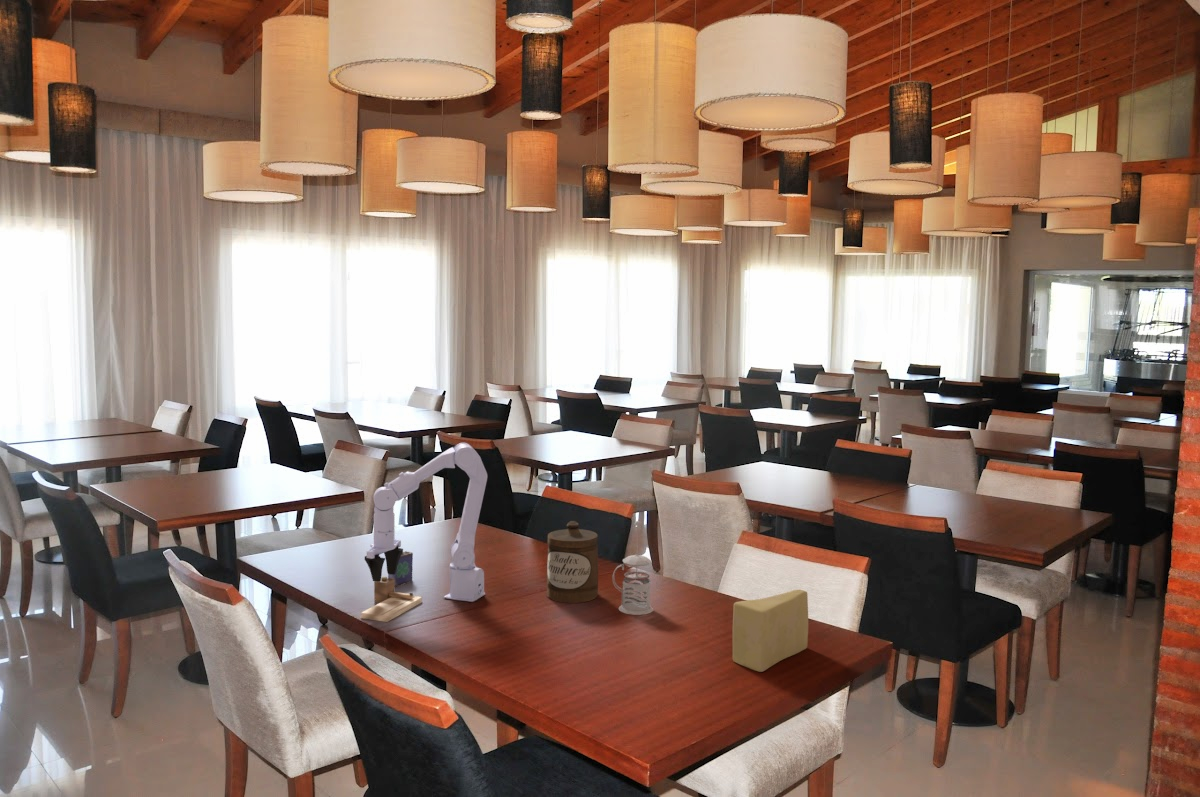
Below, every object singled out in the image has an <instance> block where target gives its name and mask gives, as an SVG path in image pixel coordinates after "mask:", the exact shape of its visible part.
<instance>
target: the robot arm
mask: <svg viewBox="0 0 1200 797" xmlns="http://www.w3.org/2000/svg"><path fill="white" fill-rule="evenodd" d="M455 465H456V466H457V467H458V468H460V469H461V470H462V471H464V472H465V473H466V474H467V476H468V478H469V482H468V486H467V491H466V496H465V500H464V505H463V509H462V515H461V518H460V523H459V528H458V532H457V533H456V537H455V540H454V541H453V543H452V544H451V546H450V547H449V548H450V549H449V553H450V556H451V558H452V561H451V562H450V563H449V593H448V594H446V595H444V596H443V598H444V599H448V600H455V601H464V602H469V603H470V602H471V603H473V602H475V601H478V600H479V599H480V598H481V597H483V596H485V595H486V592H485V571H484V570H483V569H484V568H483V569H482V568H480V567H478V566H476V563H475V560H476V554H475V550H474V549H475V543H476V532H477V527H478V523H479V520H480V519H479V518H480V513H481V509H482V504H483V500H484V495H485V490H486V486H487V482H488V472H487V470H486V468H485V465H484V462H483V461H482V458H481V456H480V455H479V453H478V452H477V450H475V448H473V446H472V445H471V444H469V443H467V442H460V443H458V444H456V445H454V446H452V447H450V448H448V449H446V450H445V451H443V452H441V453H439V454H438V455H437V456H436V457H434V458H433V459H431V460H430V461H428V462H427V463H426V464H424V465H422V466H421V467H419V468H418V469H417V470H416V471H414V472H413V471H406V472H403V471H401V472H400V473H398V477H396V478H394V479H393V480H391V481H390V482H385V483H384V484H383V485H384V486H381V487H377V489H376V490H375V491H374V493H373V496H372V499H373V503H374V506H373V543H372V544H370V548H369V549H368V550H367V551H366V555H364V561H365V562H366V564H367V566H368V568H369V571H370V575H371V579H372V581H373V582H374V581H377V582H380V581H381V578H382V575H383V574H382V571H383V566H384V563H385V562H386V572H387V575H388V574H393V575H394V574H395V573H396V569H397V565H398V561H399V559H400V556H401V554H402V553H403V552H404V548H401V546H402V540H401V539H395V534H396V532H395V530H396V529H395V513H394V506H395V504H396V502H398V501H401V500H403V499H404V498H405V497H407V496H408V495H410V494H412V493H414V492H415V491H417V490H418V489H419V488H420V483H421V482H422V481H424V480H425V479H427V478H429V477H431V476H433V475H435V474H436V473H438V472H439V471H441V470H443V469H455V468H456V466H455ZM381 554H384V557H381V556H380V555H381Z"/></svg>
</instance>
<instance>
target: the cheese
mask: <svg viewBox="0 0 1200 797" xmlns="http://www.w3.org/2000/svg"><path fill="white" fill-rule="evenodd" d="M808 603H809V602H808V592H807V591H806V590H802V589H794V590H790V591H787V592H783V593H779V594H776V595H773V596H772V595H771V596H768V597H767V596H766V597H763V598H758V599H757V598H756V599H748V600H741V601H735V602H734V603H733V613H732V614H733V615H732V661H733V662H734V663H736V664H738V665H740V666H743V667H745V668H747V669H750V670H752V671H755V672H759V673H762V672H766V670H768V669H769V668H771V667H773V666H775V665H776V664H777V663H779V662H780V661H781V662H782V661H783V660H785V659H787V658H789V657H791V656H794V655H796V654H799V653H800V652H802V651H804V650H806V649H807V648H808V639H809V638H808V637H809V604H808Z"/></svg>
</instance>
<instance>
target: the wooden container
mask: <svg viewBox="0 0 1200 797" xmlns="http://www.w3.org/2000/svg"><path fill="white" fill-rule="evenodd" d="M579 526H580V525H579V523H578V522H577V521H575V520H570V521H569V522H567V524H566V527H567V528H566V529H557V530H554V531H551V532H549V533H547V563H546V564H547V566H546V568H547V571H546V582H547V583H546V596H547V597H548V599H550V600H552V601H554V600H555V602H559V603H564V602H565V604H579V603H586V602H590V601H592V600H595V599H596V598H597V597H598V595H599V553H598V552H599V551H598V549H599V548H598V543H599V539H598V533H596V532H595V531H592V530H587V529H583V528H581V529H580V528H579Z"/></svg>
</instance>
